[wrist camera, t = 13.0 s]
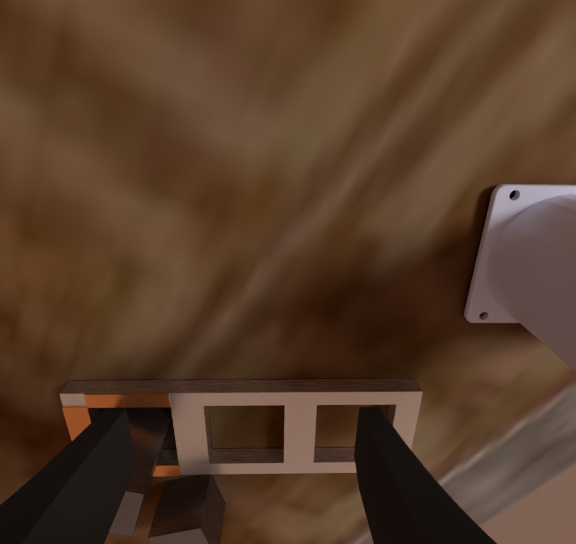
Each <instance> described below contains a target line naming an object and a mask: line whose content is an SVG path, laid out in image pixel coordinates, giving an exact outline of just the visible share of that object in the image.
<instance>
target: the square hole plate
mask: <svg viewBox="0 0 576 544" xmlns="http://www.w3.org/2000/svg"><path fill="white" fill-rule="evenodd" d="M422 393H423V391H422V389H421V387H420V385H419V383H418V381H417V380H416V379H281V380H82V381H69V382H68V383H67V385H66V386H65V387H64V388H63V390H62V391H61V392H60V394H59V395H60V398H61V402H62V405H63V408H62V409H63V413H64V416H65V420H66V423H67V426H68V430H69V433H70V437H71V440H72V441H73V440H74V439H75V438H76V437H77V436H78V435H79V434H80V433H81V432H82V431H83V430H84V429H85V428H86V427H87V426H88V425H89V424H90V423H91V422H93V421H94V420H95V419H96V418H97V417H98V416H99V415H100V414H101V408H135V407H171V411H172V418H173V426H174V433H175V440H176V447H177V449H162V452H161V454H160V457H159V460H158V463H157V466H156V469H155V472H154V475H153V476H180V475H202V474H281V473H357V472H356V465H355V459H354V450H355V447H348V448H314V445H315V428H316V412H317V405H389V408H388V415H387V418H388V419H389V421H390V422H391V424H392V425H393V427H394V428H395V429H396V431H397V432H398V433H399V435H400V436H401V437H402V439H403V440H404V442H405V443H406V444H407V445H408V447H409V448H410V449H411V448H412V443H413V438H414V433H415V428H416V423H417V418H418V413H419V408H420V403H421V398H422ZM249 405H284V448H254V449H212V444H211V432H210V421H209V410H208V406H249Z"/></svg>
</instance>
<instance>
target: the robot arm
mask: <svg viewBox="0 0 576 544" xmlns="http://www.w3.org/2000/svg"><path fill="white" fill-rule="evenodd" d="M514 190H515V196H514V197H513V198H511V199H510V193H511V192H512V191H514ZM482 312H485V313H484V315H483V316H480V314H481V313H482ZM479 316H480V317H479ZM464 317H465V318H466V320H467V321H469V322H470V323H520V324H521V325H523V326H524V327H525V328H526V329H527V330H528V331H529V332H531V333H532V334H533V335H534V336H535V337H536V338H538V339H539V340H540V341H541V342H542V343H543V344H544V345H546V346H547V347H548V348H549V349H550V350H551V351H552V352H554V353H555V354H556V355H557V356H558V357H559V358H561V359H562V360H563V361H564V362H565V363H566V364H567V365H569V366H570V367H571V368H572V369H573V370H574V371H575V372H576V185H543V184H501V185H499V186H497V187H496V188H495V189H494V190H493V192H492V195H491V199H490V203H489V208H488V212H487V216H486V221H485V225H484V229H483V234H482V238H481V242H480V246H479V251H478V255H477V259H476V264H475V268H474V272H473V277H472V281H471V285H470V290H469V294H468V298H467V303H466V307H465V311H464ZM135 458H136V457H135V452H134V447H133V442H132V437H131V432H130V427H129V422H128V417H127V412H126V409H105V410H104V411H103V412H102V413H101V414H100V415H99V416H98V417H97V418H96V419H95V420H94V421H93V422H91V423H90V424H89V425H88V426H87V427H86V428H85V429H84V430H83V431H82V432H81V433H80V434H79V435H78V436H77V437H76V438H75V439H74V440H73V441H72V442H71V443H70V444H69V445H68V446H66V447H65V448H64V449H63V450H62V451H61V452H60V453H59V454H58V455H57V456H56V457H55V458H54V459H52V460H51V461H50V462H49V463H48V464H47V465H46V466H45V467H44V468H43V469H42V470H41V471H39V472H38V473H37V474H36V475H35V476H34V477H33V478H31V479H30V480H29V481H28V482H27V483H26V484H25V485H23V486H22V487H21V488H20V489H19V490H18V491H17V492H15V493H14V494H13V495H12V496H11V497H10V498H8V499H7V500H6V501H5V502H4V503H2V504H1V505H0V544H104V542H105V540H106V538H107V535H108V533H109V531H110V528H111V526H112V523H113V521H114V519H115V516H116V514H117V512H118V509H119V507H120V504H121V502H122V500H123V497H124V495H125V492H126V489H127V485H128V482H129V479H130V476H131V472H132V469H133V465H134V462H135ZM354 459H355V465H356V472H357V478H358V484H359V490H360V494H361V497H362V501H363V505H364V509H365V513H366V516H367V520H368V524H369V527H370V531H371V535H372V539H373V542H374V544H497V543H496V542H495V541H494V540H493V539H491V538H490V537H489V536H488V535H487V534H486V533H485V532H484V531H483V530H482V529H481V528H480V527H479V526H478V525H477V524H476V523H475V522H474V521H473V520H472V519H471V518H470V517H469V516H468V515H467V514H466V513H465V512H464V511H463V510H462V509H461V508H460V507H459V506H458V505H457V503H456V502H455V501H454V500H453V499H452V498H451V497H450V496H449V495H448V494H447V493H446V491H445V490H444V489H443V488H442V487H441V486H440V485H439V483H438V482H437V481H436V480H435V479H434V478H433V477H432V475H431V474H430V473H429V472H428V471H427V469H426V468H425V467H424V466H423V464H422V463H421V462H420V461H419V459H418V458H417V457H416V456H415V454H414V453H413V452H412V451H411V449H410V448H409V447H408V445H407V444H406V443H405V442H404V440H403V439H402V437H401V436H400V435H399V433H398V432H397V431H396V429H395V428H394V427H393V425H392V424H391V422H390V421H389V419H388V418H387V417H386V415H385V414H384V412H383V411H382V410H381V409H380V408H379V407H360V408H359V416H358V425H357V433H356V442H355V450H354Z"/></svg>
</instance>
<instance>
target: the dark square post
mask: <svg viewBox="0 0 576 544" xmlns="http://www.w3.org/2000/svg"><path fill="white" fill-rule="evenodd" d="M113 409H126V412H127V417H128V422H129V427H130V432H131V437H132V442H133V447H134V452H135V457H136V458H135V462H134V465H133V469H132V472H131V476H130V479H129V482H128V485H127V489H126V492H125V495H124V497H123V500H122V502H121V504H120V507H119V509H118V512H117V514H116V516H115V519H114V521H113V523H112V526H111V528H110V531H109V533H115V534H121V535H127V536H133V534H134V531H135V528H136V525H137V522H138V519H139V516H140V513H141V510H142V507H143V505H144V502H145V499H146V496H147V493H148V490H149V487H150V484H151V481H152V478H153V475H154V472H155V469H156V466H157V463H158V460H159V457H160V454H161V452H162V449H163V446H164V442H165V438H166V435H167V431H168V427H169V424H170V420H171V417H172V411H171V408H169V407H135V408H113Z"/></svg>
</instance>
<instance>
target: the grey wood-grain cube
mask: <svg viewBox="0 0 576 544" xmlns="http://www.w3.org/2000/svg"><path fill="white" fill-rule="evenodd" d="M224 511H225V501H224V499H223V497H222V495H221V493H220V491H219V489H218V487H217V485H216V482H215V480H214V478H213V476H212V474H202V475H194V476H189V477H185V478H180V479H175V480H170V481H165V483H164V486H163V489H162V493H161V496H160V499H159V503H158V506H157V509H156V512H155V516H154V519H153V522H152V526H151V529H150V532H149V535H148V540H149V541H150V543H151V544H220V541H221V533H222V526H223V518H224Z"/></svg>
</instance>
